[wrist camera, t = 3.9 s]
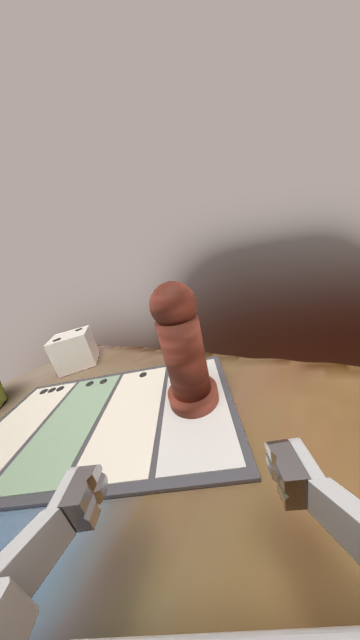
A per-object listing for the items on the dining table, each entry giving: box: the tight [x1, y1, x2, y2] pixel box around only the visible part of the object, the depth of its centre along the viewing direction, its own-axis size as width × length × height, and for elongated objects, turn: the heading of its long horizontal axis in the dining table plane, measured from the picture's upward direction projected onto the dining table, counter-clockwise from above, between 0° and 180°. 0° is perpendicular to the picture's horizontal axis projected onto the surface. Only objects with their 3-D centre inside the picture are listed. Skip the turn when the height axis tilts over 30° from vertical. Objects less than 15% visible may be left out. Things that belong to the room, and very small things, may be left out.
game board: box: [0, 356, 261, 511], centre depth 24 cm, size 33×18×1 cm, turn 89°
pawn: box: [149, 281, 219, 419], centre depth 20 cm, size 6×6×14 cm
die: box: [44, 325, 99, 378], centre depth 39 cm, size 7×7×7 cm
